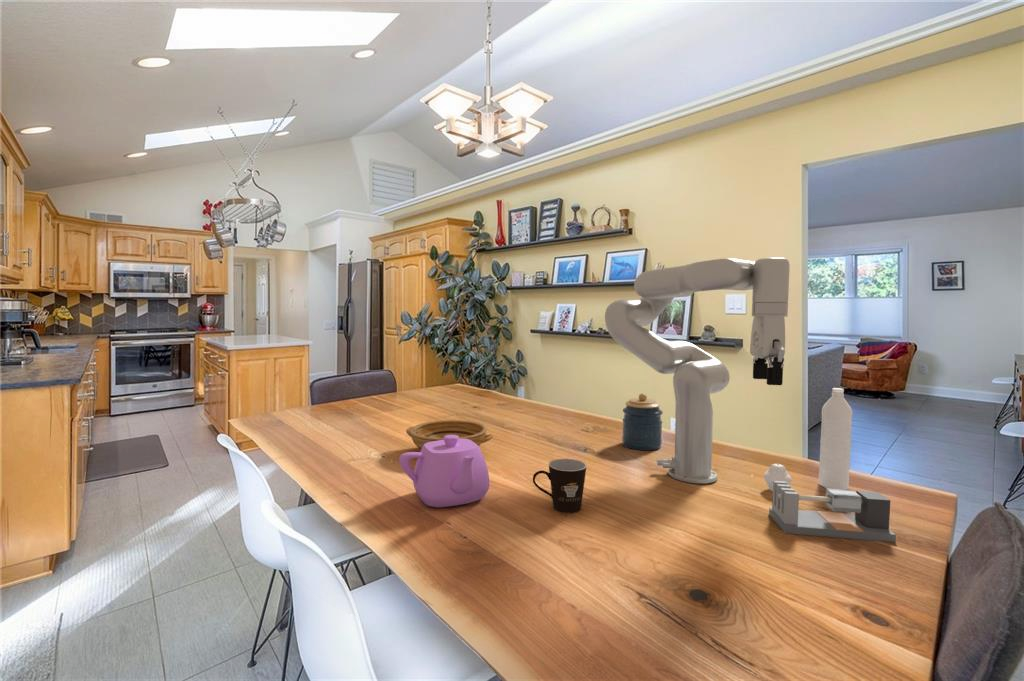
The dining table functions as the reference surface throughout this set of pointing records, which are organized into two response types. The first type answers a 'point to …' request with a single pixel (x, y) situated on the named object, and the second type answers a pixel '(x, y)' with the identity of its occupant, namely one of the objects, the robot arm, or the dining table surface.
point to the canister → (642, 424)
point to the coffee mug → (565, 484)
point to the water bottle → (835, 442)
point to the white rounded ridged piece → (776, 475)
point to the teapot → (448, 472)
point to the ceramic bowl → (448, 431)
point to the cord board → (832, 516)
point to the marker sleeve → (844, 500)
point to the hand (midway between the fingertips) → (766, 381)
